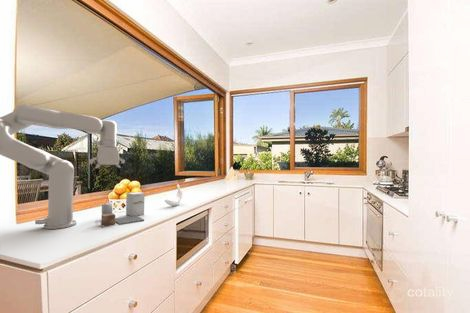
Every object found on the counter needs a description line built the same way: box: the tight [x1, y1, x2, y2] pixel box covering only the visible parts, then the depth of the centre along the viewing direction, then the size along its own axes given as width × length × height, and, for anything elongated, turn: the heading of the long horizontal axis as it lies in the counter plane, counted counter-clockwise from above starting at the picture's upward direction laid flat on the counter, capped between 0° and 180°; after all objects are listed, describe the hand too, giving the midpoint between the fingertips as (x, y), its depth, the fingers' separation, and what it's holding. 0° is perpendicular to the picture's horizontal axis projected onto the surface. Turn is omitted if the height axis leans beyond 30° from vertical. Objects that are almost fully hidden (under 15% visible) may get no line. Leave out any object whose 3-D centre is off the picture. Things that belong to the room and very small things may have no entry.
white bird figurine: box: [164, 183, 183, 207], centre depth 164 cm, size 5×19×15 cm, turn 165°
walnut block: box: [101, 212, 116, 227], centre depth 115 cm, size 5×5×5 cm
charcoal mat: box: [115, 215, 145, 225], centre depth 123 cm, size 12×12×1 cm
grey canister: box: [101, 202, 113, 215], centre depth 125 cm, size 5×5×8 cm
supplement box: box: [125, 191, 146, 217], centre depth 136 cm, size 7×7×13 cm
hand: (107, 175), depth 125 cm, fingers open, 9 cm apart
